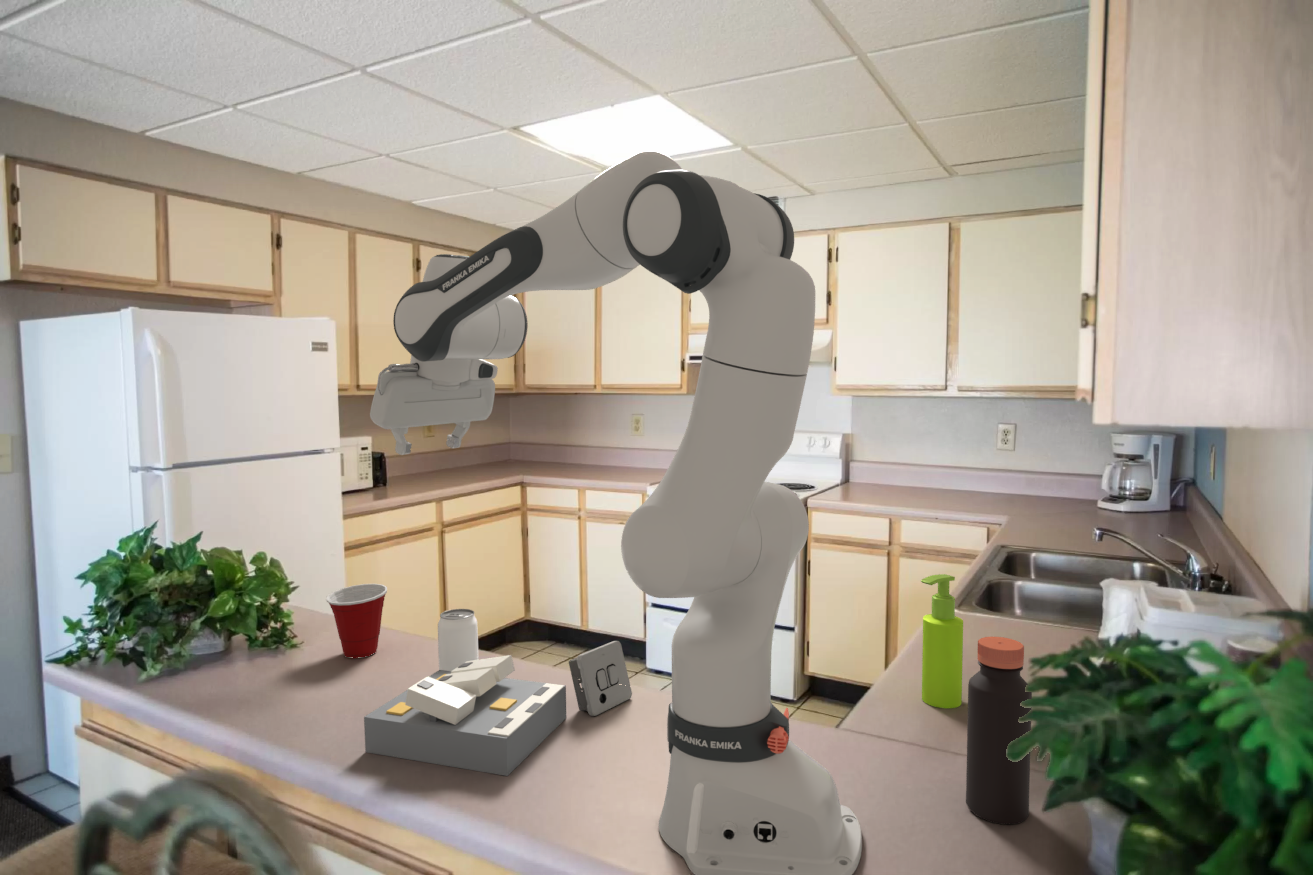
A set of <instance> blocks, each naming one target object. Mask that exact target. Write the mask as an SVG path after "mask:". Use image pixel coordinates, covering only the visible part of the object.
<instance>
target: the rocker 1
mask: <svg viewBox="0 0 1313 875" xmlns="http://www.w3.org/2000/svg"><path fill="white" fill-rule="evenodd" d="M407 690H408V691H407V697H406V703H405V705H407V706H409V707H412V708H414V709H417V710H419V711H422V712H424V713H427V714H429V715H432V716H434V717H437V718H439V719H442V720H444V721H447V722H449V723H452V724H454V725H456V724H457V723H458V722H460V721H461V720H462V719H464V718H465V717H466V716H468V715H469V714H470V713H472V712H473V710H474V705H475V700H476V695H475V694H472V693H469V692H467V691H464V690H462V689H459V688H456V687H454V686H451V685H449V684H446V683H443V682H441V681H438V680H436V679H433V678H430V677H429V676H426V677H423V679H421V680H419V681H417V682H415V684H413V685H411V686H410V687H408V688H407Z"/></svg>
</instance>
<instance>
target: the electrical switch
mask: <svg viewBox="0 0 1313 875" xmlns="http://www.w3.org/2000/svg"><path fill="white" fill-rule="evenodd" d="M568 666H569V670H570V674H571V680H572V683H573V689H574V693H575V697H576V698H575V699H576V702H577V706H578V710H579V711H586V712H588V714H589V716H590V717H594V716H595V717H596V716H598V715H600V714H602V713H604V712H605V711H608V710H609V709H611V708H614V707H615V706H618V705H619V704H622V703H624V702H626V701H628V700H630V699H631V698H632V695H633V691H632V688H631V687H630V686H631V683H630V678H629V677H630V676H629V674H628V670H627V669H628V668H627V665H626V660H625V656H624V652H623V647H622V643H621V642H620V641H619V640H613V641H611V642H608V643H605V644H603V645H601V646H598V647H595V648H593V649H590V650H587V651H586V652H583V653H581V654H579V655H577V656H576V657H575V658H572V659H570V660H568ZM619 684H622V685H619ZM625 685H626V686H625Z"/></svg>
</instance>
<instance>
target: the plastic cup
mask: <svg viewBox="0 0 1313 875" xmlns="http://www.w3.org/2000/svg"><path fill="white" fill-rule="evenodd" d="M387 593H388V587H387V586H386V585H384V584H379V583H362V584H356V585H350V586H347V587H342V588H340V589H336V590H334V591H331V593H328V595H326V598H325V601H326V603H328V604H329V606H330V609H331V611H332V614H333V617H334V621H335V626H336V628H337V633H338V637H339V640H340V643H341V648H342V653H343V655H345V656H346V657H345V656H344V657H345V658H347V657H353V658H352V659H359V658H358V657H364V658H366V657H365V656H368V657H370V656H369V655H371V654H373V653H375V652H376V653H377V650H378V647H379V645H378V644H379V639H380V638H379V637H380V635H381V634H380V633H381V626H382V615H383V607H384V602H385V597H386V594H387ZM376 653H375V654H376ZM373 655H374V654H373ZM371 656H372V655H371Z"/></svg>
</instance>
